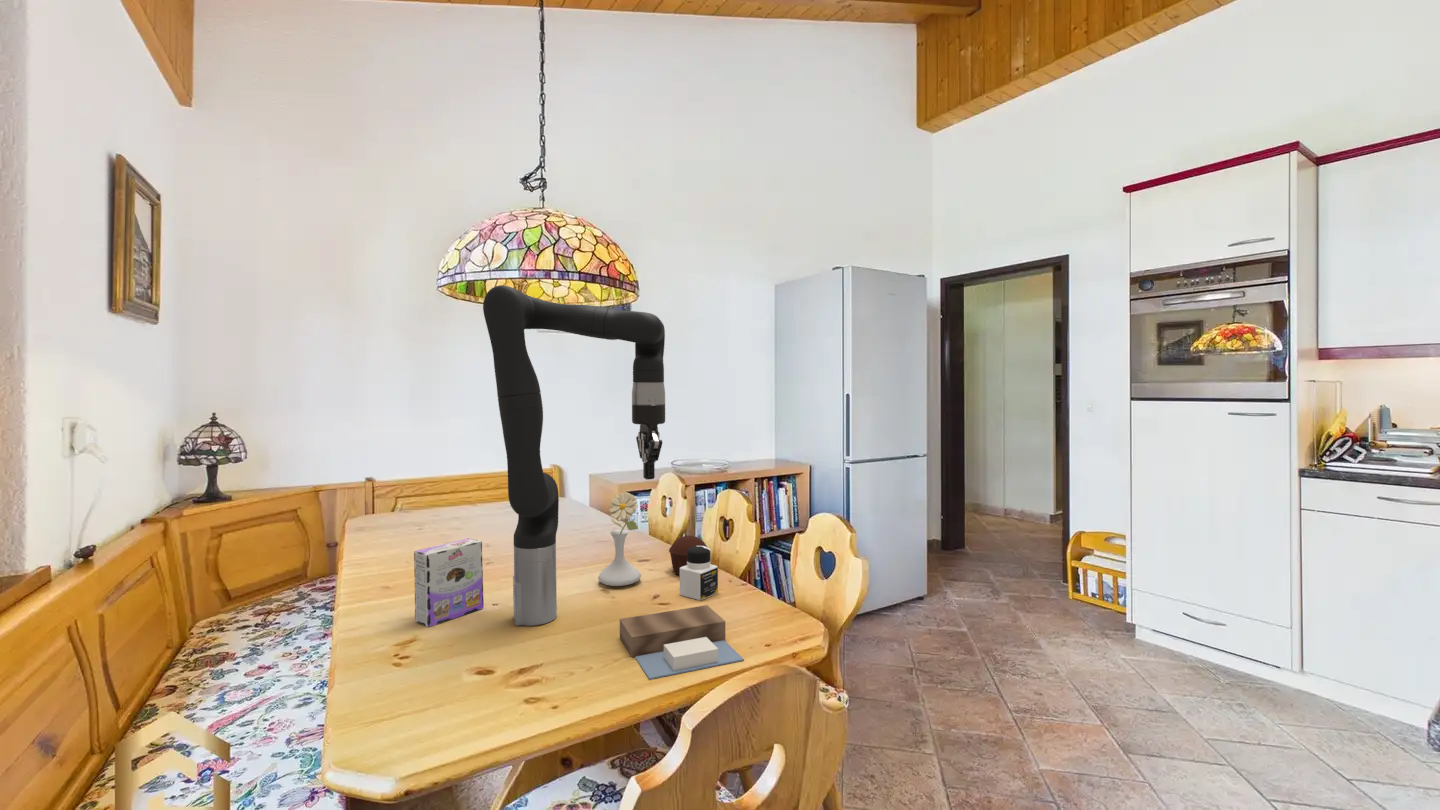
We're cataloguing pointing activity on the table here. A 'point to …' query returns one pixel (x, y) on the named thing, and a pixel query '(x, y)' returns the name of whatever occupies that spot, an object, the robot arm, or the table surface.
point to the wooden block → (670, 629)
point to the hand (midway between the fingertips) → (649, 478)
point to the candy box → (448, 581)
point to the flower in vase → (621, 543)
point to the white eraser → (690, 653)
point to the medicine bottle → (698, 574)
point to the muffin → (682, 551)
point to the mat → (659, 668)
